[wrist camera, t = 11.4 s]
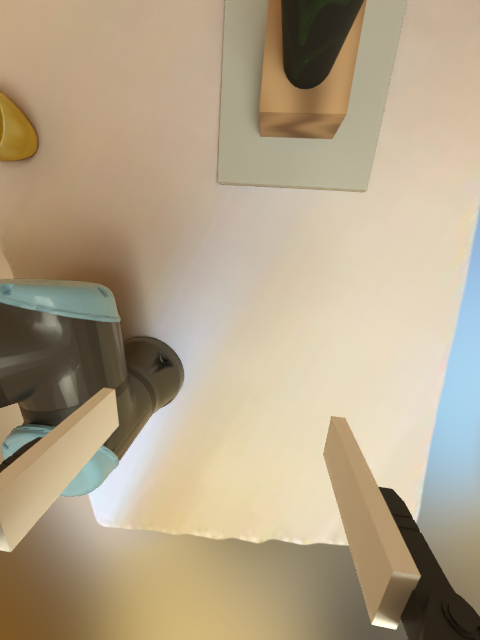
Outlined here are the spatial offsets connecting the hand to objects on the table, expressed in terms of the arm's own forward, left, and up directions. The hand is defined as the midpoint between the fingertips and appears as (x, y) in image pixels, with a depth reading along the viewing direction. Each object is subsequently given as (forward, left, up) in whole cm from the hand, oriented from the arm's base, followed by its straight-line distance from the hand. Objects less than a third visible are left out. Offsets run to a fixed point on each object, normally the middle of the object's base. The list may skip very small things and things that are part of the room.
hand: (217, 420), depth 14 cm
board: (+4, +31, -29) cm, 42 cm away
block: (+4, +31, -27) cm, 41 cm away
